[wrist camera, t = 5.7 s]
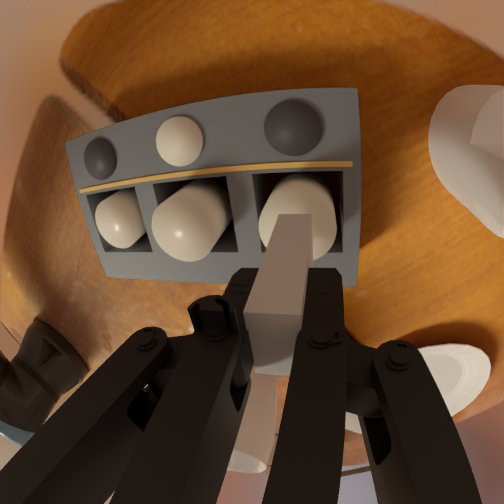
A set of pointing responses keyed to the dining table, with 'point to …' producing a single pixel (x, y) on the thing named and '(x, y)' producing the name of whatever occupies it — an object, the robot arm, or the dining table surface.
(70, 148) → the board
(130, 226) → the button
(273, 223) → the button
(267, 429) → the cup
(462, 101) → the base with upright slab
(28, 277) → the dining table surface
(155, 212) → the button
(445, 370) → the plate
